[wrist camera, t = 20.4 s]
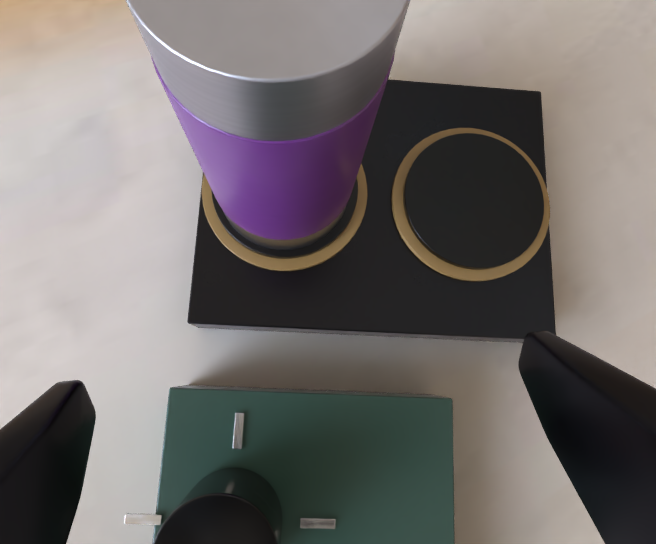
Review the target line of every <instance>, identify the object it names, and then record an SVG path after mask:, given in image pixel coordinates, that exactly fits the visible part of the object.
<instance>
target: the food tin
mask: <svg viewBox="0 0 656 544" xmlns="http://www.w3.org/2000/svg"><path fill="white" fill-rule="evenodd" d="M126 3H127V5H128V7H129V9H130V11H131V13H132V16H133V18H134V20H135V22H136V24H137V26H138V29H139V31H140V33H141V35H142V37H143V39H144V41H145V44H146V46H147V48H148V50H149V52H150V54H151V57H152V61H153V64H154V67H155V69H156V72H157V75H158V77H159V79H160V81H161V83H162V85H163V87H164V89H165V92H166V94H167V96H168V98H169V100H170V102H171V104H172V106H173V109H174V111H175V113H176V115H177V117H178V119H179V121H180V123H181V126H182V128H183V130H184V132H185V134H186V136H187V138H188V140H189V143H190V145H191V147H192V149H193V151H194V153H195V155H196V157H197V160H198V162H199V164H200V166H201V168H202V170H203V172H204V174H205V177H206V179H207V181H208V183H209V185H210V187H211V189H212V191H213V194H214V196H215V198H216V200H217V202H218V203H219V205H220V207H221V208H222V210H223V212H224V214H225V216H226V218H227V220H228V221H229V222H230V224H231V225H232V226H233V227H234V229H235V230H236V231H237V232H238V233H240V234H241V235H242V236H243V237H245V238H246V239H248V240H249V241H251V242H253V243H255V244H257V245H260V246H263V247H266V248H270V249H276V250H291V249H298V248H303V247H305V246H308V245H311V244H313V243H315V242H317V241H319V240H320V239H322V238H323V237H325V236H326V235H327V234H328V233H329V232H331V231H332V230H333V228H334V227H335V226H336V225H337V224H338V222H339V221H340V219H341V217H342V215H343V213H344V211H345V209H346V205H347V203H348V201H349V198H350V196H351V193H352V190H353V187H354V184H355V181H356V178H357V174H358V171H359V168H360V165H361V162H362V159H363V156H364V152H365V149H366V146H367V143H368V140H369V137H370V133H371V130H372V127H373V124H374V121H375V118H376V115H377V111H378V108H379V105H380V102H381V99H382V96H383V93H384V89H385V86H386V83H387V80H388V77H389V74H390V70H391V67H392V64H393V60H394V53H395V48H396V44H397V41H398V38H399V35H400V32H401V28H402V25H403V22H404V19H405V15H406V12H407V9H408V6H409V3H410V0H126Z"/></svg>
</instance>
